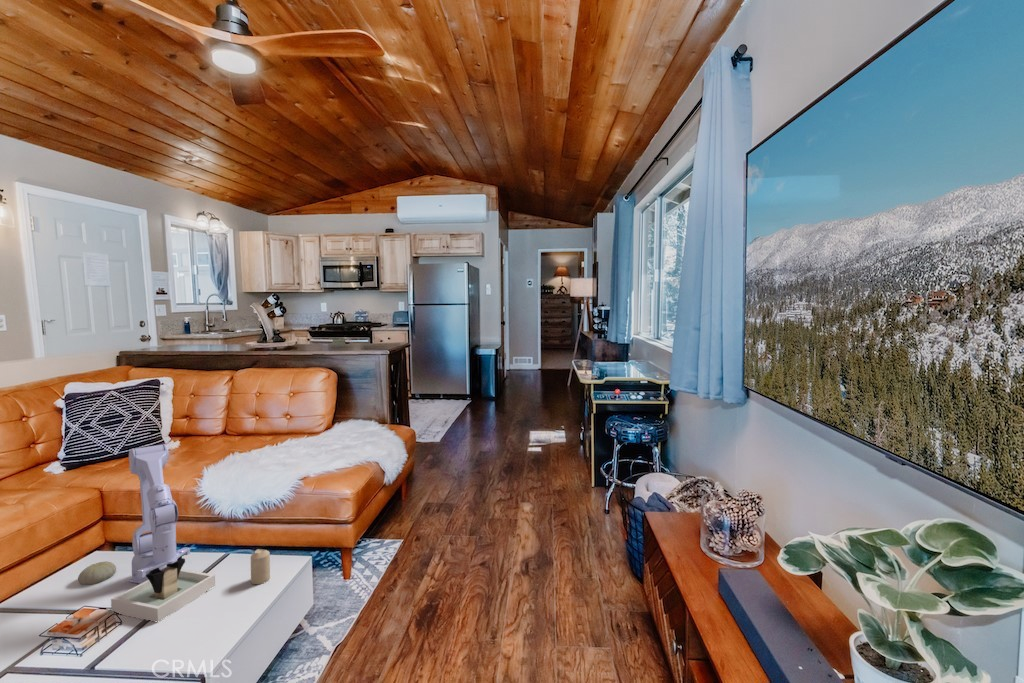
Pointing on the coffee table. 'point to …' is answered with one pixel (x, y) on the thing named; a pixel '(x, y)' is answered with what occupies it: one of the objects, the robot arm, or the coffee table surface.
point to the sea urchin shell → (97, 573)
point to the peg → (168, 583)
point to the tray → (149, 608)
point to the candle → (260, 566)
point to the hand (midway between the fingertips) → (165, 588)
